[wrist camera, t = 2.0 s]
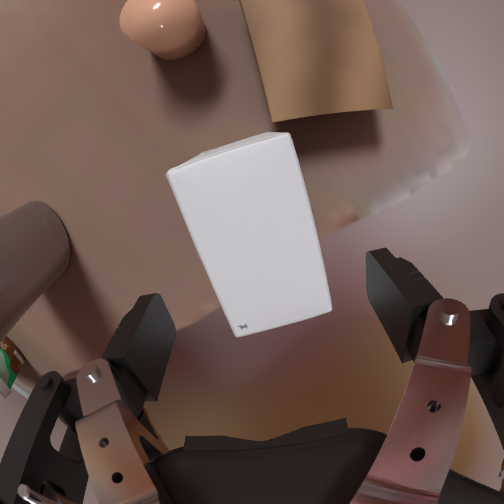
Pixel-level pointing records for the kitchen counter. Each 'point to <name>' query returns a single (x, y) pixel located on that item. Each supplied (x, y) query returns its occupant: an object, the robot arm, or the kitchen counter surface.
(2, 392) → the food container
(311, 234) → the skincare box
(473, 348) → the robot arm
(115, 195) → the kitchen counter surface
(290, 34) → the stand
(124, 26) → the peach rounded knob
